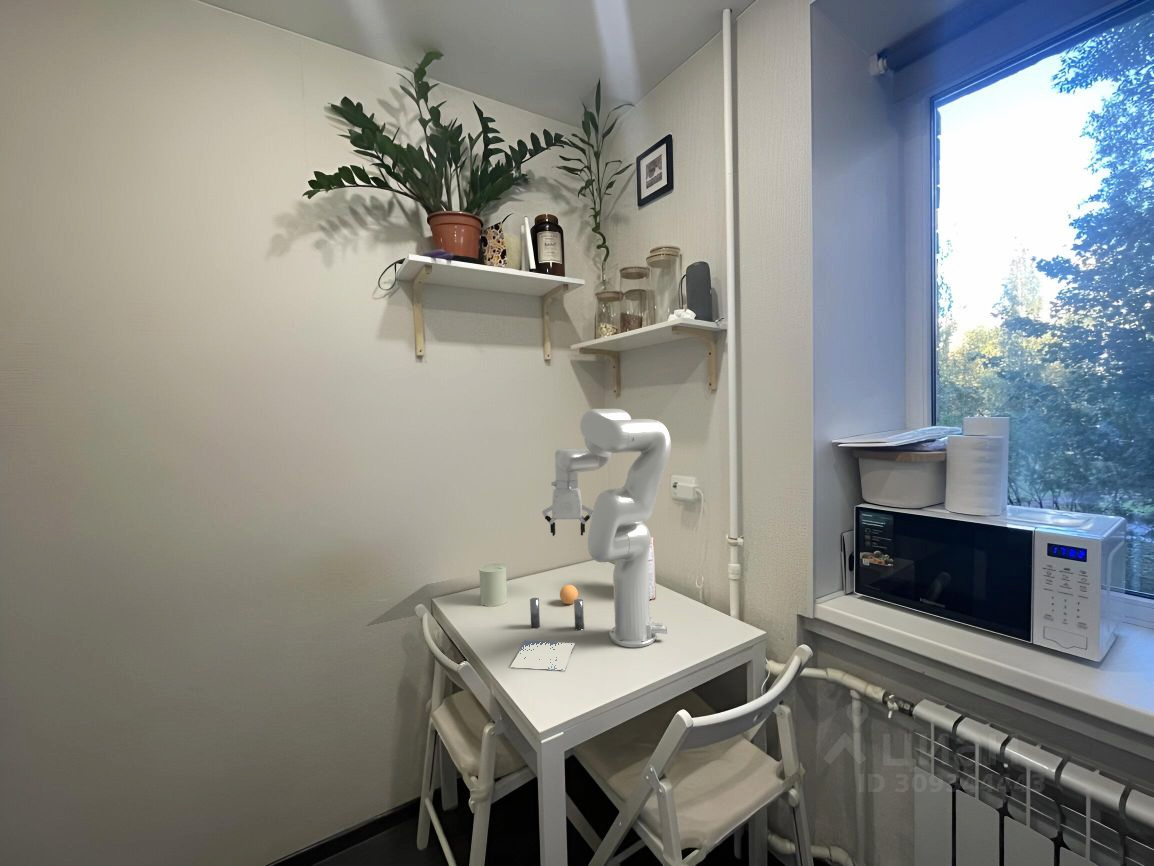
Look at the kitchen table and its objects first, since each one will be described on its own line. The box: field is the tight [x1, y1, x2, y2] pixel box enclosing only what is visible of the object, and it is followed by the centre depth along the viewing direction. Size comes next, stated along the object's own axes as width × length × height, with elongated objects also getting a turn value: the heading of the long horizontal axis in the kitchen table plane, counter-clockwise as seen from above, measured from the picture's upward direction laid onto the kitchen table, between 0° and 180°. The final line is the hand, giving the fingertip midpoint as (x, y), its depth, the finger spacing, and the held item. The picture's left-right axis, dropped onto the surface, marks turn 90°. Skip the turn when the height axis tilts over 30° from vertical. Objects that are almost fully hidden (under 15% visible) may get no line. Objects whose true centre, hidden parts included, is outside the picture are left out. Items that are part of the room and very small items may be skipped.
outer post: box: [529, 597, 541, 629], centre depth 132 cm, size 3×3×8 cm
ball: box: [559, 584, 579, 605], centre depth 149 cm, size 6×6×6 cm
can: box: [478, 563, 509, 607], centre depth 154 cm, size 9×9×12 cm
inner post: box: [573, 598, 585, 631], centre depth 130 cm, size 3×3×8 cm
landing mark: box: [514, 639, 572, 671], centre depth 116 cm, size 14×14×1 cm
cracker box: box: [648, 536, 657, 601], centre depth 155 cm, size 14×6×21 cm, turn 24°
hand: (567, 534), depth 155 cm, fingers open, 9 cm apart
